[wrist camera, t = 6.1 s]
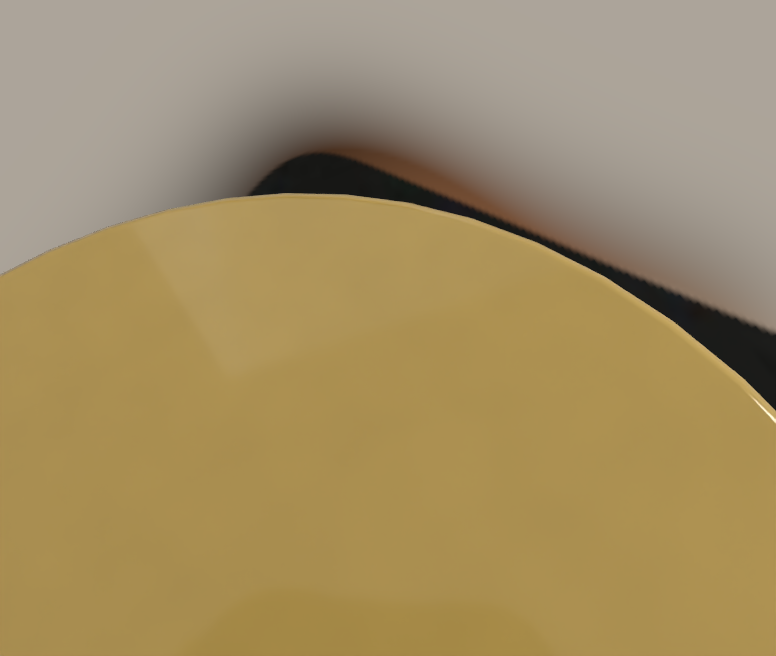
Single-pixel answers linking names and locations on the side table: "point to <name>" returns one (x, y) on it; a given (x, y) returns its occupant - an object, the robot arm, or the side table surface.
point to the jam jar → (367, 447)
